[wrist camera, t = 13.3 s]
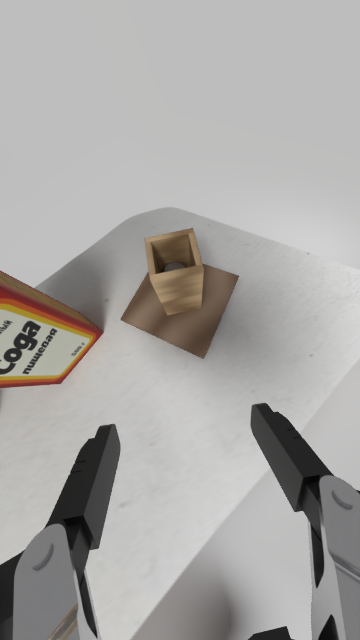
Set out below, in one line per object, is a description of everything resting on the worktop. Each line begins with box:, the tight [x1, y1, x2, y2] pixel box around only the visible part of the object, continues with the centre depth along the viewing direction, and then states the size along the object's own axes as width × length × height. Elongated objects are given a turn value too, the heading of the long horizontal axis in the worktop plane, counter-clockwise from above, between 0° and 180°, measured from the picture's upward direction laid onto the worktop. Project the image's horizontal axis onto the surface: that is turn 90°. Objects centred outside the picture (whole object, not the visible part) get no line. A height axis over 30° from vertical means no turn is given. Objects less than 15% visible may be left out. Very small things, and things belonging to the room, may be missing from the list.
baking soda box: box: [0, 271, 104, 388], centre depth 19 cm, size 10×6×16 cm
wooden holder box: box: [144, 228, 204, 316], centre depth 21 cm, size 5×5×10 cm
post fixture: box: [121, 262, 239, 359], centre depth 23 cm, size 14×14×8 cm
